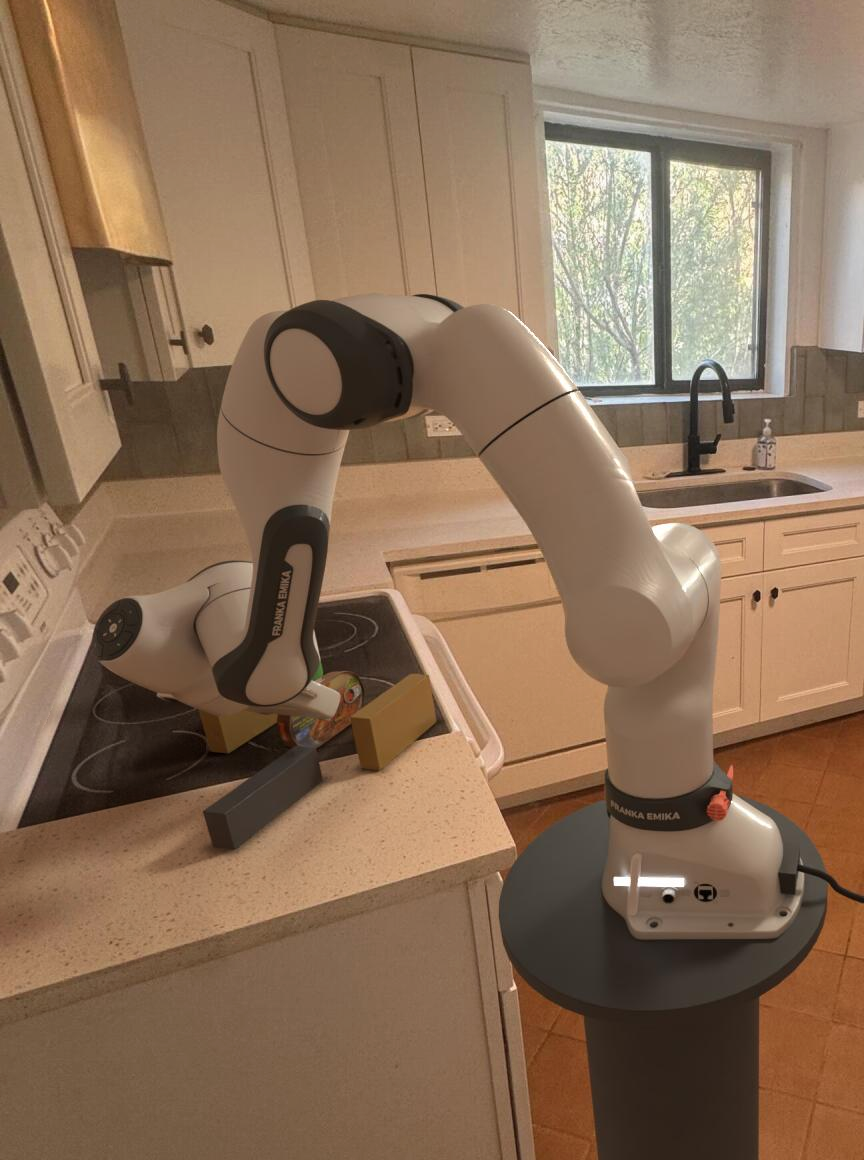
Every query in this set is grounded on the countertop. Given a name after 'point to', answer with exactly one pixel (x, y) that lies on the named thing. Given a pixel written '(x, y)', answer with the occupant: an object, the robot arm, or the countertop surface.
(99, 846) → the countertop surface
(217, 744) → the tan cardboard-coloured block
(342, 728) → the tin
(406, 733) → the khaki rectangular brick
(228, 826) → the grey rectangular block
